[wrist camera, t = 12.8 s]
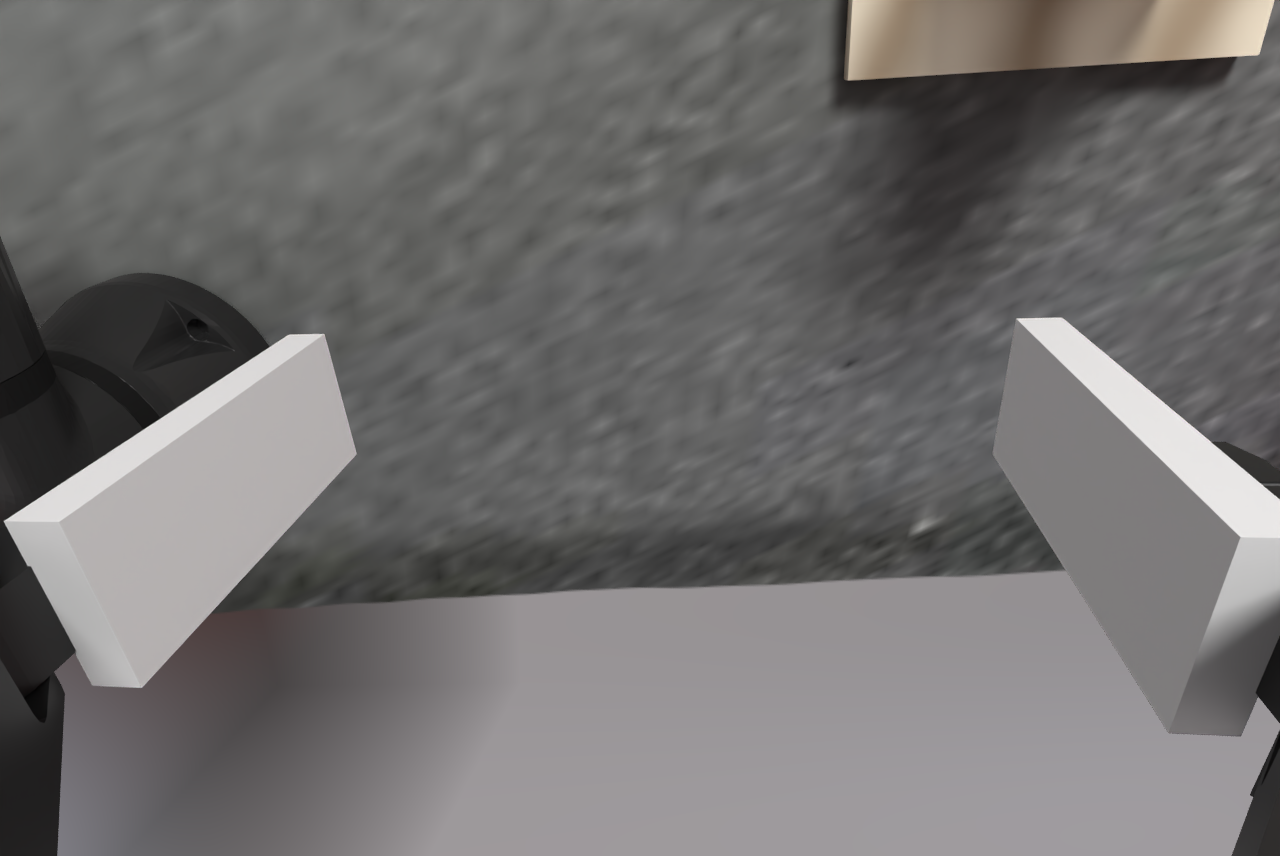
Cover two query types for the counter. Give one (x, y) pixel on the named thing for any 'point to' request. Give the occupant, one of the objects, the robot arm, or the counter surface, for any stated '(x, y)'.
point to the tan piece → (1042, 34)
